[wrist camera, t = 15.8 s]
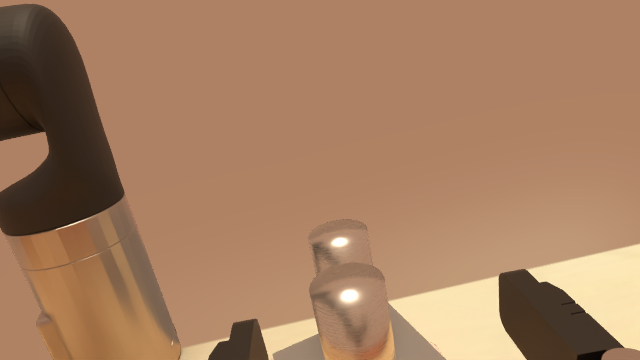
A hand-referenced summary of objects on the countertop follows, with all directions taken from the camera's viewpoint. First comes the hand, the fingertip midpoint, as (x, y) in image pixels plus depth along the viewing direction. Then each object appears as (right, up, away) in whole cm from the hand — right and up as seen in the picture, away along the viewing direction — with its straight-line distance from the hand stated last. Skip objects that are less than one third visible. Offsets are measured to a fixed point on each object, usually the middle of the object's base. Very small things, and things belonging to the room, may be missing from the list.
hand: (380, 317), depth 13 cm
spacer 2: (+1, -11, +13) cm, 17 cm away
